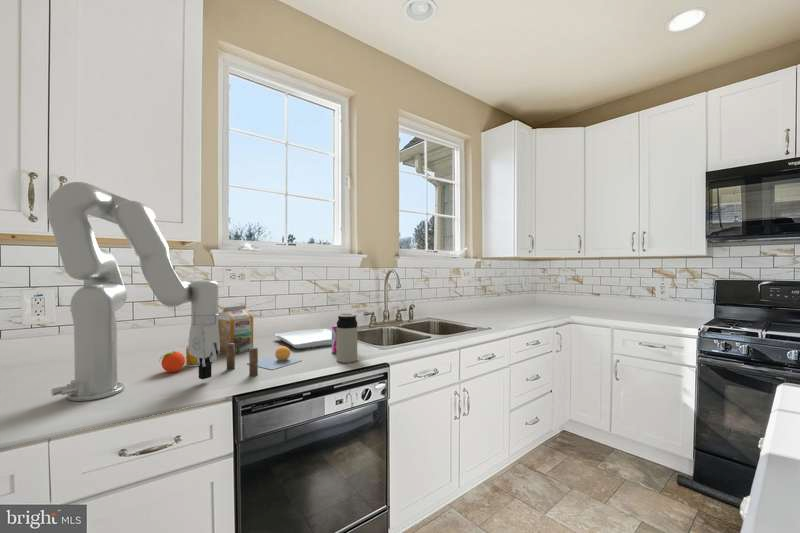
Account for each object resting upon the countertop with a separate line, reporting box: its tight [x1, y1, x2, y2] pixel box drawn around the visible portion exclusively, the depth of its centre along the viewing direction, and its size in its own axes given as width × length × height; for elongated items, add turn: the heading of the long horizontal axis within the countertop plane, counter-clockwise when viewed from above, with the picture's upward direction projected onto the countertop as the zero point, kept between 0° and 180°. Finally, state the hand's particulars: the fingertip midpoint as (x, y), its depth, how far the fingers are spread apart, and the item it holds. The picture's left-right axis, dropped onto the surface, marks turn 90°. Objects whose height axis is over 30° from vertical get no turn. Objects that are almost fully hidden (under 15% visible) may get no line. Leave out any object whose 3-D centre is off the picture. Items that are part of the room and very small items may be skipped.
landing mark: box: [246, 355, 303, 371], centre depth 138 cm, size 14×14×1 cm
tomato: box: [158, 350, 186, 373], centre depth 126 cm, size 8×7×7 cm
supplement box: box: [331, 324, 337, 355], centre depth 154 cm, size 6×6×12 cm
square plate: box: [274, 328, 332, 349], centre depth 174 cm, size 27×27×4 cm
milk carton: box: [218, 304, 254, 355], centre depth 156 cm, size 11×11×19 cm
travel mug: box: [336, 312, 358, 364], centre depth 142 cm, size 8×8×18 cm
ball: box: [274, 345, 291, 361], centre depth 141 cm, size 6×6×6 cm
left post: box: [226, 343, 236, 371], centre depth 130 cm, size 3×3×9 cm
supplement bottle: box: [185, 338, 199, 368], centre depth 134 cm, size 5×5×10 cm
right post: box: [248, 347, 259, 377], centre depth 123 cm, size 3×3×9 cm
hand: (205, 377), depth 115 cm, fingers closed
